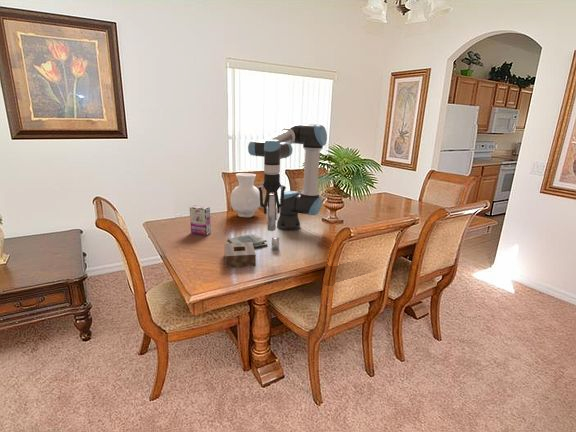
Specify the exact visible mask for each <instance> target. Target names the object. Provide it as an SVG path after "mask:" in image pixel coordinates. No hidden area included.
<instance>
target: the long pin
mask: <svg viewBox="0 0 576 432" xmlns="http://www.w3.org/2000/svg"><path fill="white" fill-rule="evenodd" d="M276 206H277V204H276V195H275V194H274V193H270V195H269V199H268V203H267V207H268V221H267V231H269V232H274V231H276V228H277V222H276V221H277V220H276Z"/></svg>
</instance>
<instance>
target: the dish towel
mask: <svg viewBox="0 0 576 432" xmlns="http://www.w3.org/2000/svg"><path fill="white" fill-rule="evenodd" d="M227 242H229V243H247V242H252V244H253V247H254V250H255V249H261V248H265V247H268V244H267V242H268V241H267V240H266V239H264V238H263V237H261V236H259V235H258V234H256V233H252V234H246V235H240V236H235V237H231V238H227Z"/></svg>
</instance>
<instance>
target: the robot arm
mask: <svg viewBox="0 0 576 432" xmlns="http://www.w3.org/2000/svg"><path fill="white" fill-rule="evenodd" d="M327 142H328V134H327V130H326V128H325V126H324V125H321V124H316V123H315V124H311V123H310V124H308V123H305V124H303V123H298V124H293V125H290V126H288V127H285V128H283V129H282V130H281V131H280V132H278V133H275V134H272V135H270V136H269V137H266V138H264V139H261V140H251V141H250V142H248V145H247V151H248V153H249V155H250V156H255V157H264V160H263V161H264V164H263V165H264V166H263V172H264V174H263V184H262V185H258V187H257V189H258V190H259V194H260V207H262V208H263V214H264V215H265V221H267V222H268V199H269V195H270V194H275V195H276V221H277V222H276V228H277V229H279V230H284V231H295V230H299V229H300V228H301V221H300V219H299V214H303V215H306V216H307V215H308V216H317V215H318V214H319V213H320V211H321V210H322V205H323V198H322V197H321V196H320V193H319V192H318V184H319V170H320V155H321V154H320V153H321V151H322V150H323V148H324V146H326V145H327ZM292 144H297V145H302V148H303V149H304V151H305V154H304V169H303V170H304V172H303V189H302V190H301V192H299V191H296V190H288V191H287V190H286V188H287V187H286V186H285V185H282V184H281V175H280V172H281V160H283V159H287V158H289V157H290V156H291V155H292V154H293V146H292ZM279 189H280V198H279V195H278V194H279V193H278V191H279ZM264 190H265V198H264V196H263V191H264ZM278 215H279V216H278Z"/></svg>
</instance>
